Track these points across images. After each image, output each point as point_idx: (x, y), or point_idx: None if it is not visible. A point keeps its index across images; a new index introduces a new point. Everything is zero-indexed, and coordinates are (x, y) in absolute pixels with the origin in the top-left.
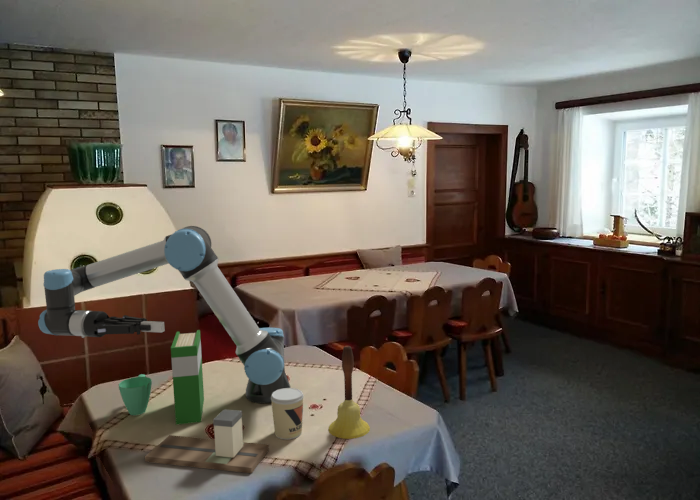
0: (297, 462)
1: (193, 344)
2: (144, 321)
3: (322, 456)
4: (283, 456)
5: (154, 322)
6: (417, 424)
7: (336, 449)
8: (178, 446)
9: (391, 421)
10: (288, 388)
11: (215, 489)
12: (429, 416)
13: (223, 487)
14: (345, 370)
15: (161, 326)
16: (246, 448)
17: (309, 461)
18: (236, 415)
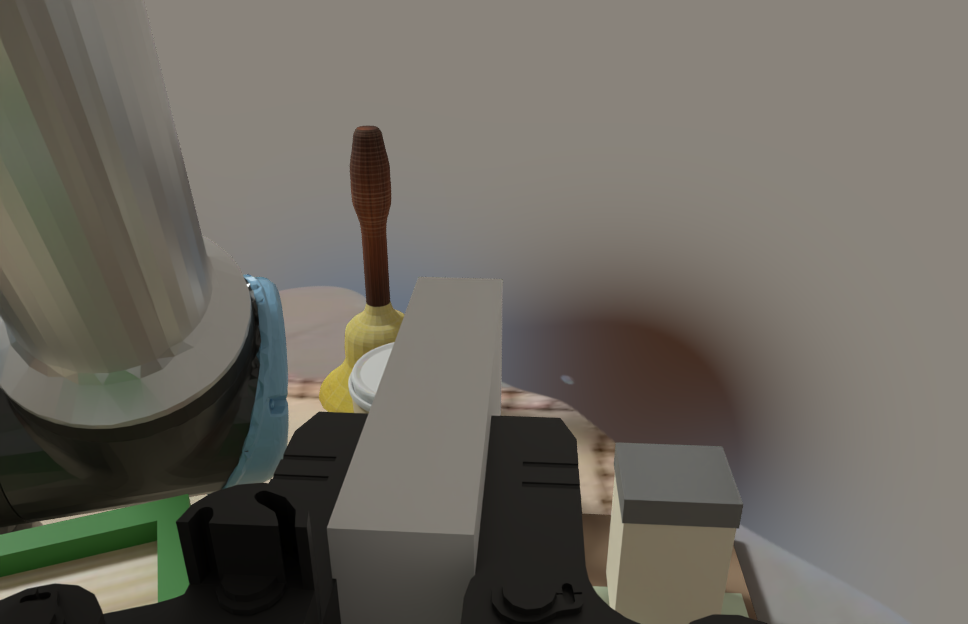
0: (610, 453)
1: (29, 577)
2: (378, 496)
3: (559, 415)
4: (587, 487)
5: (460, 343)
6: (360, 303)
7: (513, 397)
8: None
9: (340, 332)
10: (356, 373)
11: (870, 604)
12: (317, 291)
13: (843, 586)
14: (388, 207)
15: (501, 326)
16: (604, 567)
17: (595, 433)
18: (666, 446)
